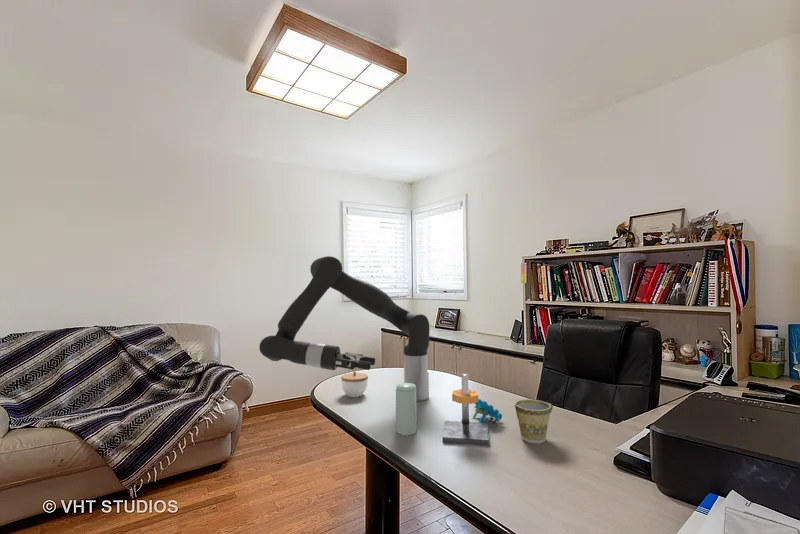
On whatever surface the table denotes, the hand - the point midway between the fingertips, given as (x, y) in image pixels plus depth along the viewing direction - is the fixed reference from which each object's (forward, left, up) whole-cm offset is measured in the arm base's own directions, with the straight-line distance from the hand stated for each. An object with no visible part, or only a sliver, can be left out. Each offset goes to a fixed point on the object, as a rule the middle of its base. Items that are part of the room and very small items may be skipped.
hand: (372, 364), depth 123 cm
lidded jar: (-21, -31, -21) cm, 43 cm away
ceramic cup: (-25, +42, -21) cm, 53 cm away
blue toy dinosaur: (-29, +24, -21) cm, 43 cm away
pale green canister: (-5, +9, -20) cm, 23 cm away
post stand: (-14, +25, -20) cm, 35 cm away
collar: (-14, +25, -10) cm, 30 cm away
